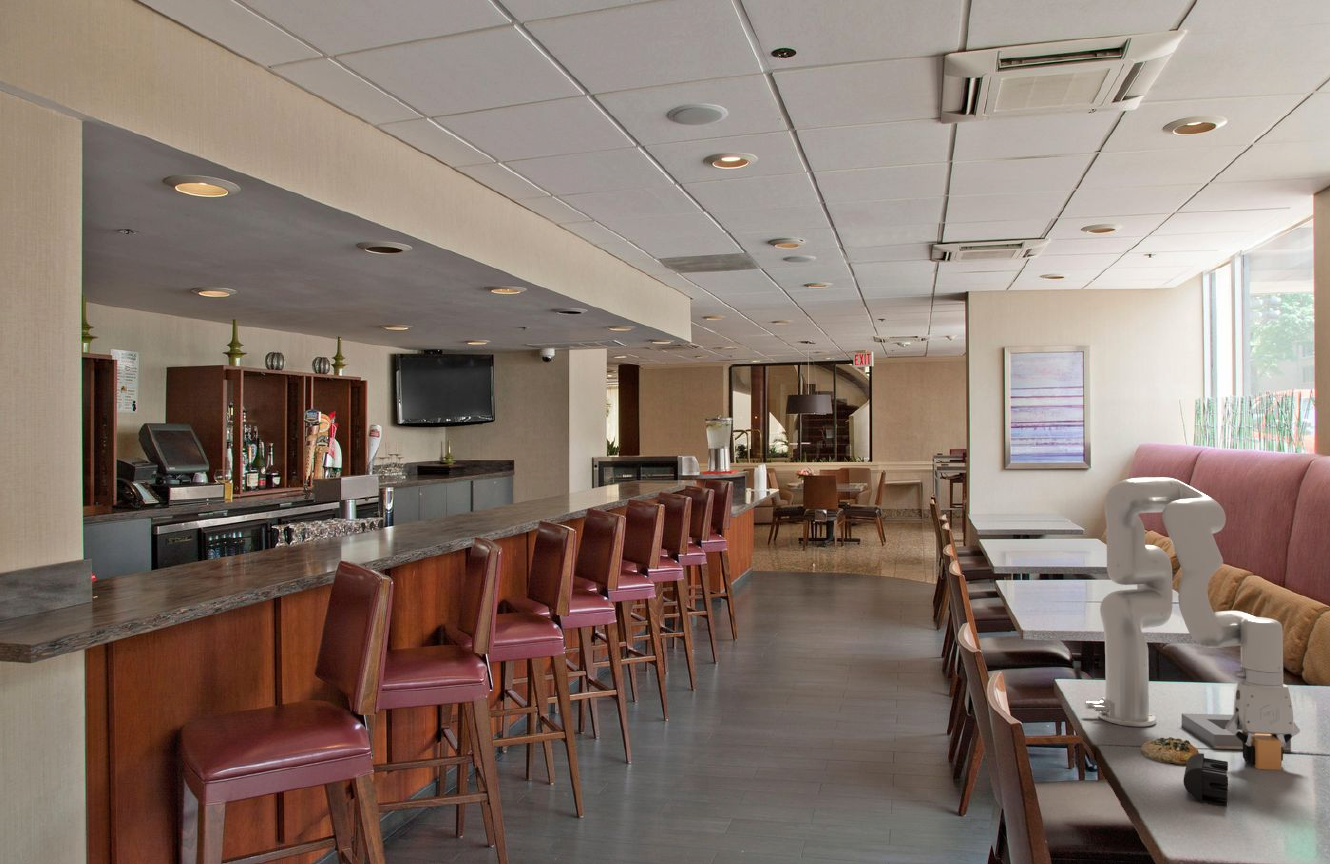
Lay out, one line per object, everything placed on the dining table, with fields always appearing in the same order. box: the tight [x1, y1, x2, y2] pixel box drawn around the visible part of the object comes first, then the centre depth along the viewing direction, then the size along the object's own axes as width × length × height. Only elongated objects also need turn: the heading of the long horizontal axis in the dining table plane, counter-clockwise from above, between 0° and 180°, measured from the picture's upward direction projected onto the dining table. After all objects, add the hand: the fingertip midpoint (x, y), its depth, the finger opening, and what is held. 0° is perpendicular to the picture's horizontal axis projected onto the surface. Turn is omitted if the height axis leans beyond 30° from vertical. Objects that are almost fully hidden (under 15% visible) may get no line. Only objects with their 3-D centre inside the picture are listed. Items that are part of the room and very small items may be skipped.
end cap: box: [1183, 752, 1229, 808], centre depth 177 cm, size 10×7×7 cm
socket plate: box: [1181, 713, 1292, 751], centre depth 212 cm, size 16×16×3 cm
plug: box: [1252, 733, 1282, 771], centre depth 194 cm, size 4×6×6 cm
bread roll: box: [1140, 736, 1200, 766], centre depth 199 cm, size 11×11×5 cm
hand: (1262, 762), depth 194 cm, fingers closed on plug, 4 cm apart
